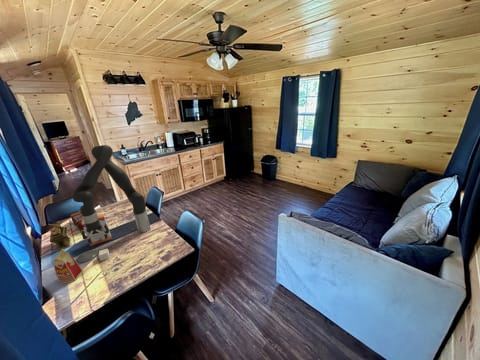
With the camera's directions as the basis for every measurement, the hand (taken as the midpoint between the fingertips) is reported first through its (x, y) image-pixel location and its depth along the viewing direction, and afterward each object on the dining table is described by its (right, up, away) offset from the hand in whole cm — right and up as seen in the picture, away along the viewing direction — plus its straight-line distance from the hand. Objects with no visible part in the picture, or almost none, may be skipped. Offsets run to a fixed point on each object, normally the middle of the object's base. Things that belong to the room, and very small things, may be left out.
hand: (98, 240), depth 134 cm
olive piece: (-41, -10, +20) cm, 46 cm away
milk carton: (-10, -20, -9) cm, 24 cm away
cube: (+1, -13, +5) cm, 14 cm away
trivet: (-13, -13, +7) cm, 20 cm away
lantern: (-46, 0, +45) cm, 64 cm away
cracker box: (-14, -7, +23) cm, 27 cm away
